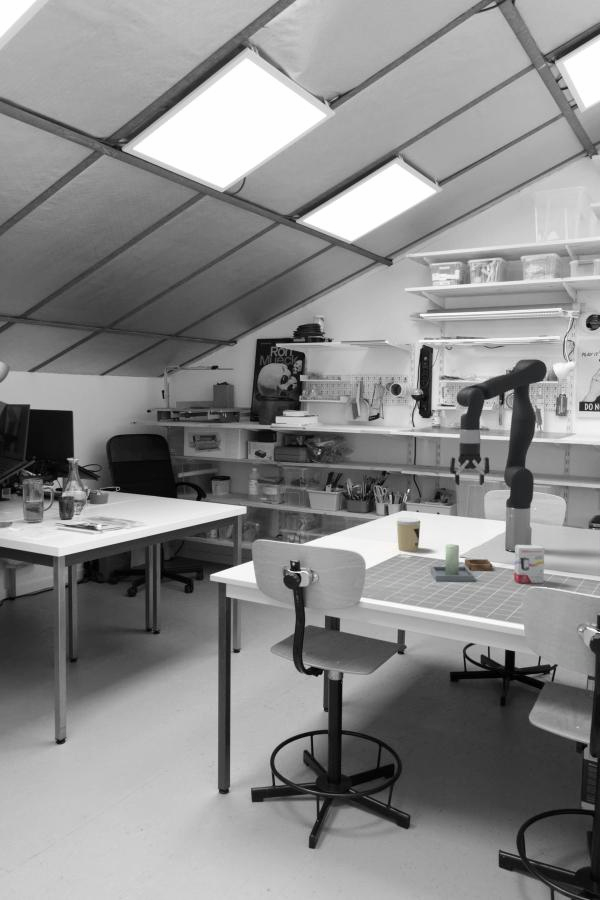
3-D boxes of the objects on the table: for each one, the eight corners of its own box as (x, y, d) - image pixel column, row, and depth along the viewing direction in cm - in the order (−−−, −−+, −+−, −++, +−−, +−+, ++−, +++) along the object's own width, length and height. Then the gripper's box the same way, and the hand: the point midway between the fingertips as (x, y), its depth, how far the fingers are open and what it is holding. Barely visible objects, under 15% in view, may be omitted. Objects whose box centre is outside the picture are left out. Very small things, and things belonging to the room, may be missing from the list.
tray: (466, 571, 248) (466, 566, 248) (474, 581, 235) (474, 576, 235) (430, 571, 248) (430, 566, 248) (435, 581, 236) (435, 575, 236)
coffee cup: (419, 552, 277) (420, 522, 276) (395, 551, 279) (395, 521, 278) (420, 547, 286) (420, 518, 285) (397, 546, 288) (397, 517, 287)
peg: (457, 572, 244) (457, 544, 243) (459, 576, 240) (459, 547, 239) (444, 572, 244) (444, 544, 243) (446, 576, 240) (446, 547, 239)
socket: (487, 564, 258) (487, 559, 258) (492, 570, 250) (492, 564, 249) (464, 564, 258) (464, 559, 258) (469, 570, 250) (469, 564, 250)
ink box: (517, 583, 233) (518, 548, 232) (513, 579, 238) (514, 544, 237) (544, 583, 233) (545, 548, 232) (539, 579, 238) (540, 544, 237)
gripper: (486, 440, 267) (486, 483, 269) (448, 441, 268) (448, 483, 269) (491, 442, 260) (490, 486, 261) (452, 442, 261) (451, 486, 262)
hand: (469, 484), depth 265 cm, fingers open, 8 cm apart
